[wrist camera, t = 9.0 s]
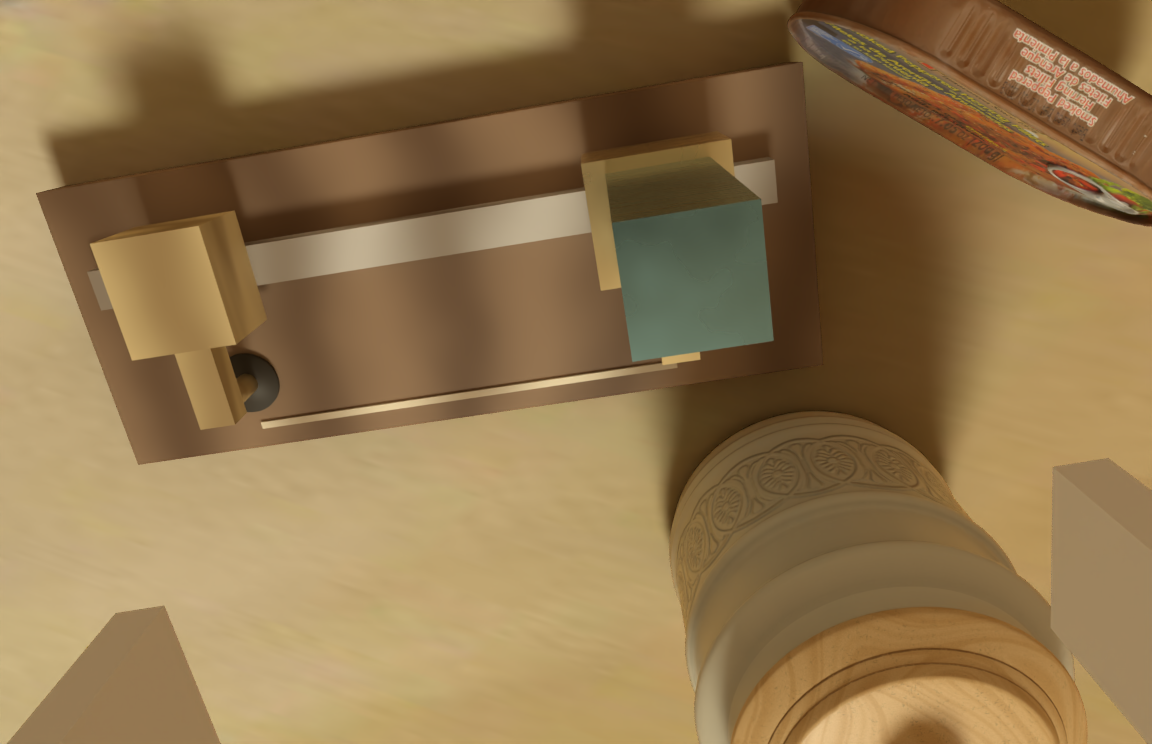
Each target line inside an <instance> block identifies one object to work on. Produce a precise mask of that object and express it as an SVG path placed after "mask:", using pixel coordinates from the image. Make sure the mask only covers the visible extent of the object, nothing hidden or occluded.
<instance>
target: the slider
mask: <svg viewBox="0 0 1152 744" xmlns="http://www.w3.org/2000/svg"><path fill="white" fill-rule="evenodd" d="M581 168H582V175H583V181H584V187H585V194H586V200H587V206H588V213H589V219H590V225H591V232H592V238H593V244H594V251H595V257H596V263H597V270H598V276H599V282H600V289H601V291H603V290H610V289H616V288H621V289H622V296H623V302H624V309H625V316H626V323H627V329H628V336H629V343H630V349H631V356H632V362H635V361H641V360H648V359H655V358H661V360H662V365H667V364H674V363H681V362H688V361H694V360H701V359H700V352H702V351H709V350H715V349H722V348H729V347H736V346H742V345H749V344H756V343H763V342H769V341H774V339H773V327H772V316H771V305H770V293H769V282H768V271H767V259H766V248H765V237H764V225H763V214H762V203H761V198H759V197H758V196H757V195H756V194H755V193H753V192H752V191H751V190H750V189H749V188H747V187H746V186H745V185H744V184H742V183H741V182H740V181H739V180H738V179H736V178H735V173H734V163H733V153H732V143H731V139H730V138H729V137H727V136H725V135H723V134H722V133H720V132H718V131H715V132H709V133H703V134H697V135H691V136H685V137H679V138H673V139H667V140H661V141H655V142H649V143H643V144H637V145H631V146H625V147H619V148H613V149H607V150H601V151H595V152H589V153H583V154H582V156H581Z"/></svg>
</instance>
